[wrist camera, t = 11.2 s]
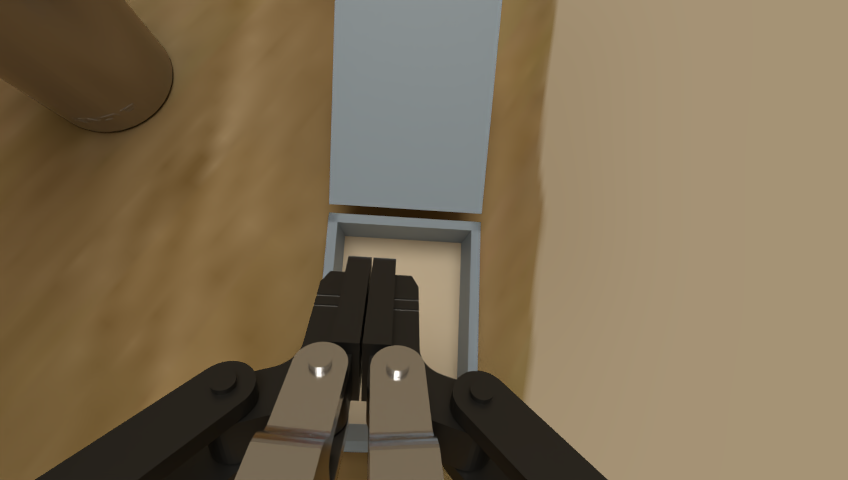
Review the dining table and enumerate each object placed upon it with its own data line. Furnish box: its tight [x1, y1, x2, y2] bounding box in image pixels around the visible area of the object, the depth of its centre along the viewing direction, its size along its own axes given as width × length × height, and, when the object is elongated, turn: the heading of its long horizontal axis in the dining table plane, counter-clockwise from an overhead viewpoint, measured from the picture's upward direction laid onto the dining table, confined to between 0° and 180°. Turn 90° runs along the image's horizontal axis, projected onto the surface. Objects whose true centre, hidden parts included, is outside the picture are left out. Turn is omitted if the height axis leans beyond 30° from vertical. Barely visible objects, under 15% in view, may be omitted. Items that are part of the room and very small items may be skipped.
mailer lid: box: [329, 0, 502, 214], centre depth 27 cm, size 14×10×1 cm
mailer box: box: [323, 213, 481, 452], centre depth 29 cm, size 14×10×5 cm
